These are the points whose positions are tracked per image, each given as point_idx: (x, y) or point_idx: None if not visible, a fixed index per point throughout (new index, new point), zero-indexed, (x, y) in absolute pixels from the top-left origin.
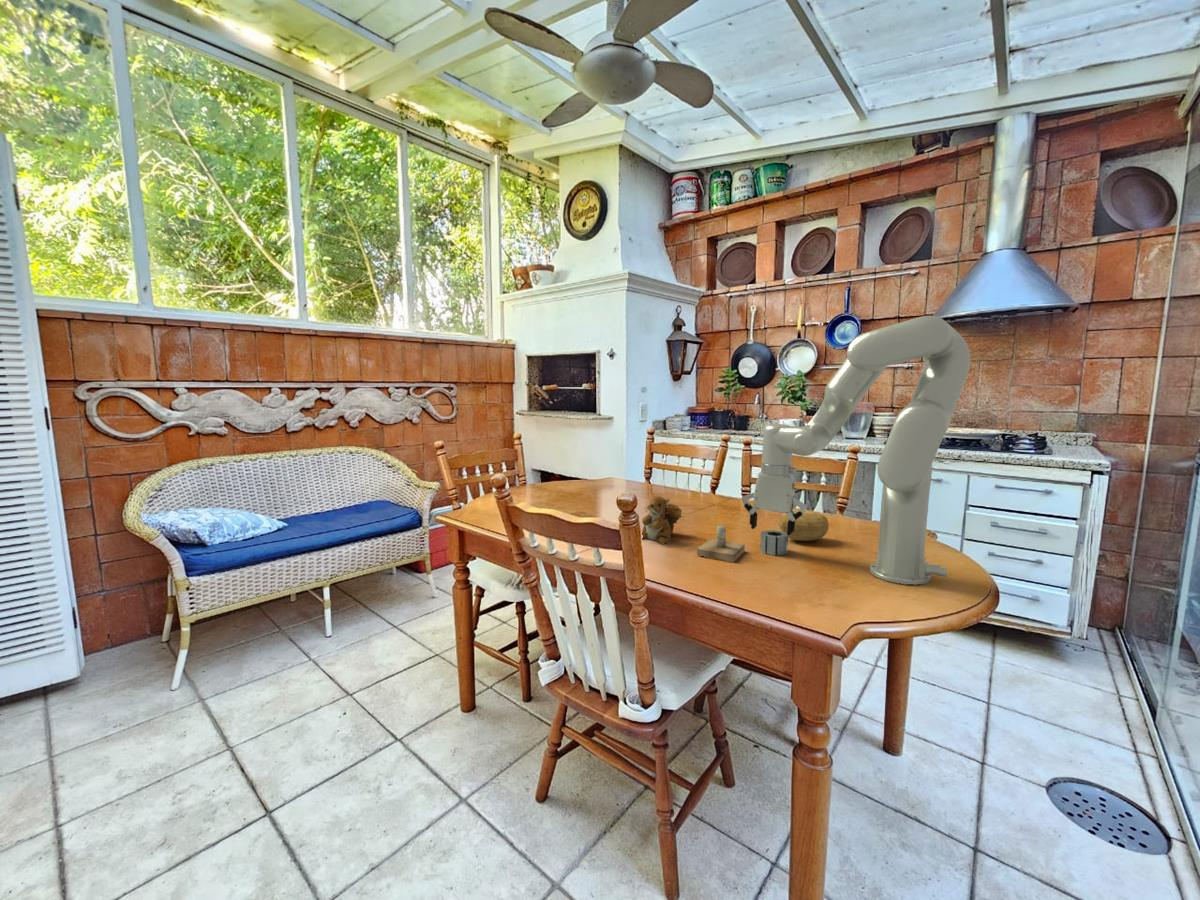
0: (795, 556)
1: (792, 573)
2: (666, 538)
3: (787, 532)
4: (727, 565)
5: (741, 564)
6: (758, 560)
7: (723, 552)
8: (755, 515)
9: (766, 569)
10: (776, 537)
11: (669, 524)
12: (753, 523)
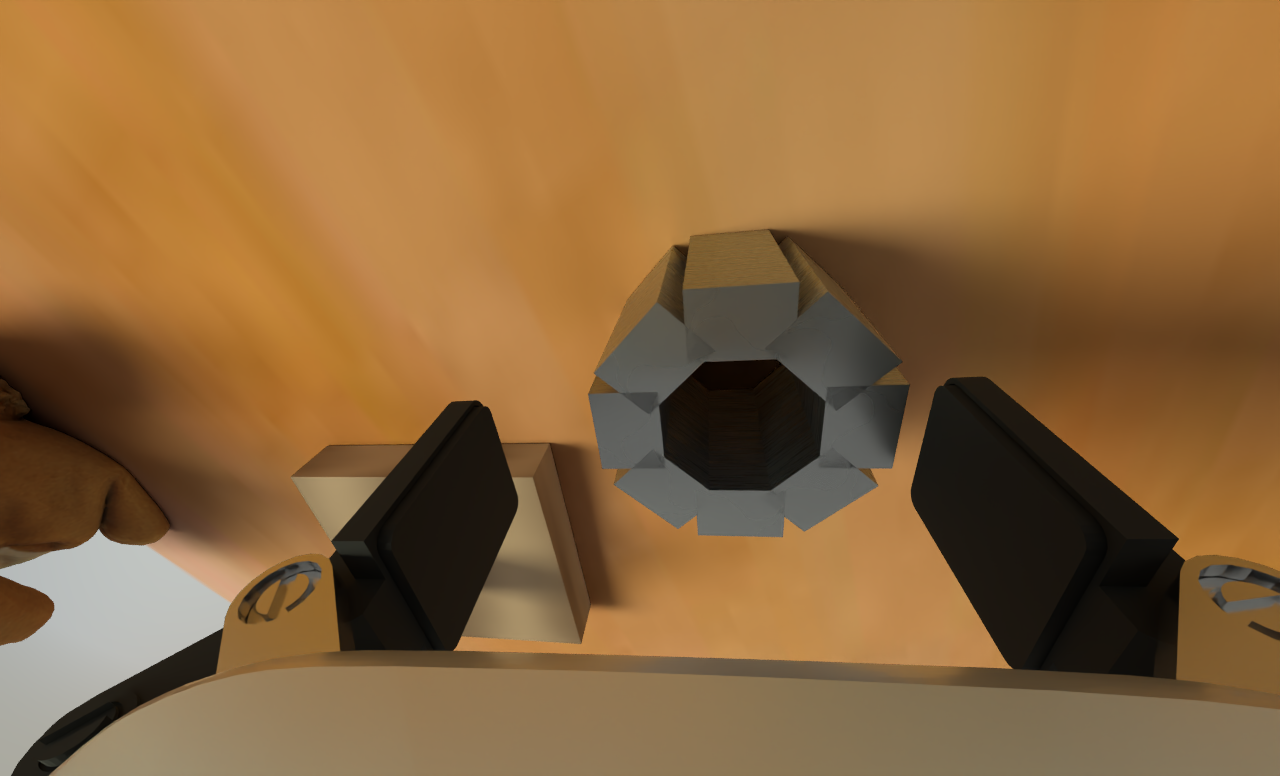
0: (920, 368)
1: (908, 622)
2: (124, 515)
3: (925, 519)
4: (587, 636)
5: (635, 610)
6: (690, 539)
7: (519, 633)
8: (437, 622)
9: (768, 621)
10: (785, 513)
11: None
12: (489, 554)
